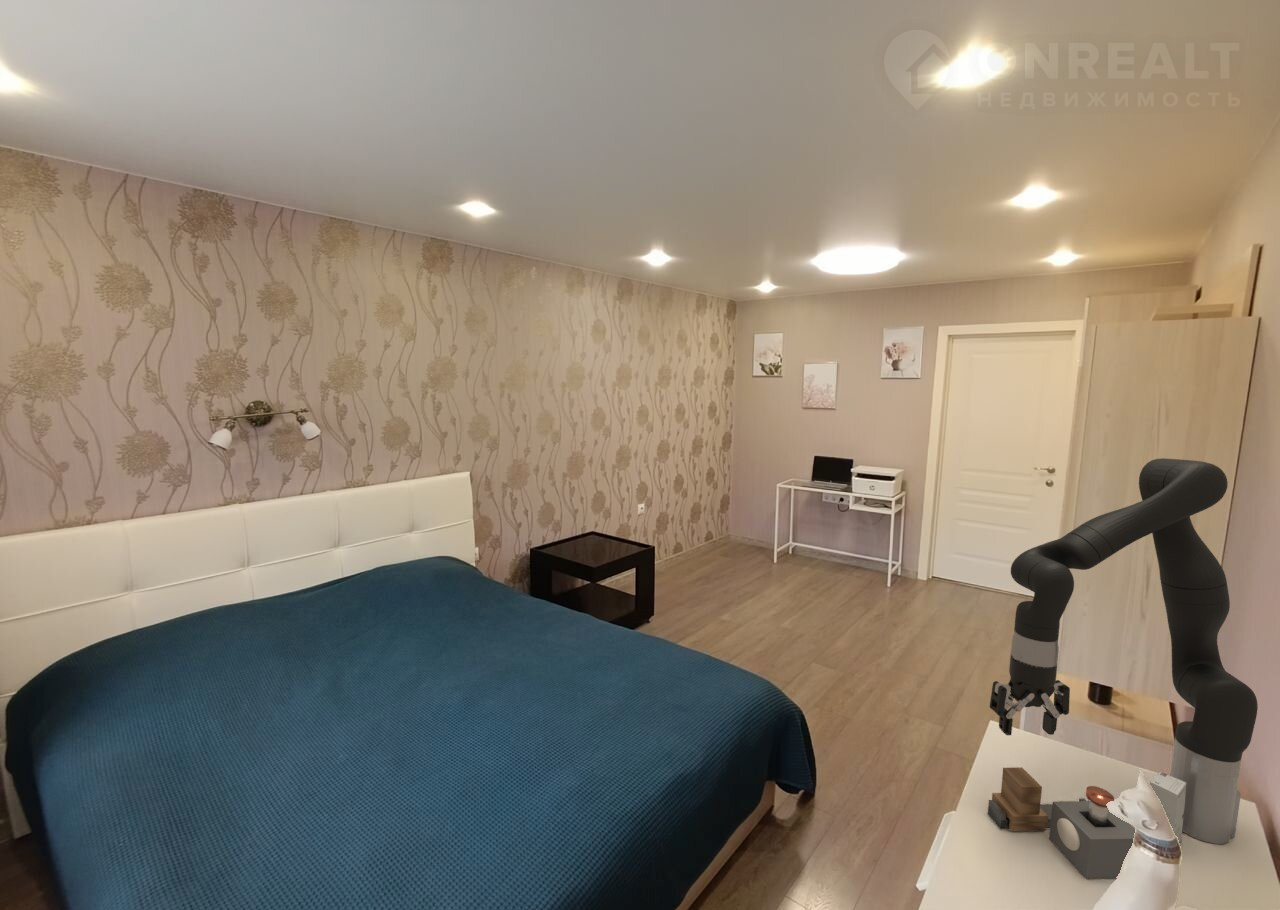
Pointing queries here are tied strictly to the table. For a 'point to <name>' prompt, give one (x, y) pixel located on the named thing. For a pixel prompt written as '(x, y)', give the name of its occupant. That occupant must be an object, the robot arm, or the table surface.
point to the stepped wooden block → (1021, 801)
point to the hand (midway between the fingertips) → (1026, 732)
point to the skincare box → (1171, 799)
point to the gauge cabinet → (1090, 839)
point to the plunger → (1098, 805)
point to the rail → (1003, 820)
